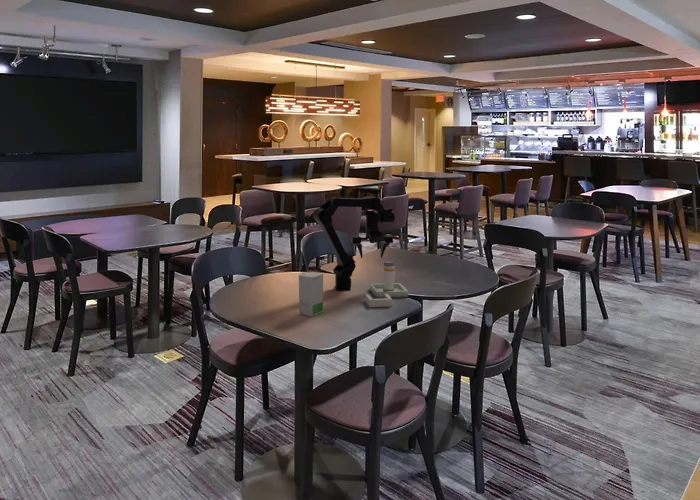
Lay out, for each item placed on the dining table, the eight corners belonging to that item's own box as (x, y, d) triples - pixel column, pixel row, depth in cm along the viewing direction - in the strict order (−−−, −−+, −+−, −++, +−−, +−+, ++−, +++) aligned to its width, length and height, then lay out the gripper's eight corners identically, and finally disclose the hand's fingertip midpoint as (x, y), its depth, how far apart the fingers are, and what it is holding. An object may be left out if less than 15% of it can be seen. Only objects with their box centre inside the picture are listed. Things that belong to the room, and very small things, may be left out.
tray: (376, 298, 248) (376, 292, 247) (369, 289, 261) (369, 284, 261) (408, 296, 250) (408, 291, 250) (399, 288, 264) (400, 283, 263)
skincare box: (311, 317, 221) (311, 277, 218) (297, 314, 225) (297, 275, 222) (324, 311, 228) (324, 273, 225) (310, 308, 232) (310, 271, 229)
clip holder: (369, 307, 235) (369, 300, 234) (365, 301, 243) (365, 294, 243) (392, 306, 237) (392, 299, 236) (387, 300, 245) (387, 293, 244)
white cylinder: (388, 293, 252) (389, 264, 250) (380, 291, 256) (381, 262, 253) (396, 291, 256) (397, 262, 253) (388, 289, 259) (389, 260, 257)
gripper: (355, 227, 254) (354, 262, 257) (396, 226, 257) (395, 261, 260) (350, 223, 264) (350, 257, 267) (390, 222, 268) (389, 256, 271)
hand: (371, 257), depth 266 cm, fingers open, 9 cm apart
